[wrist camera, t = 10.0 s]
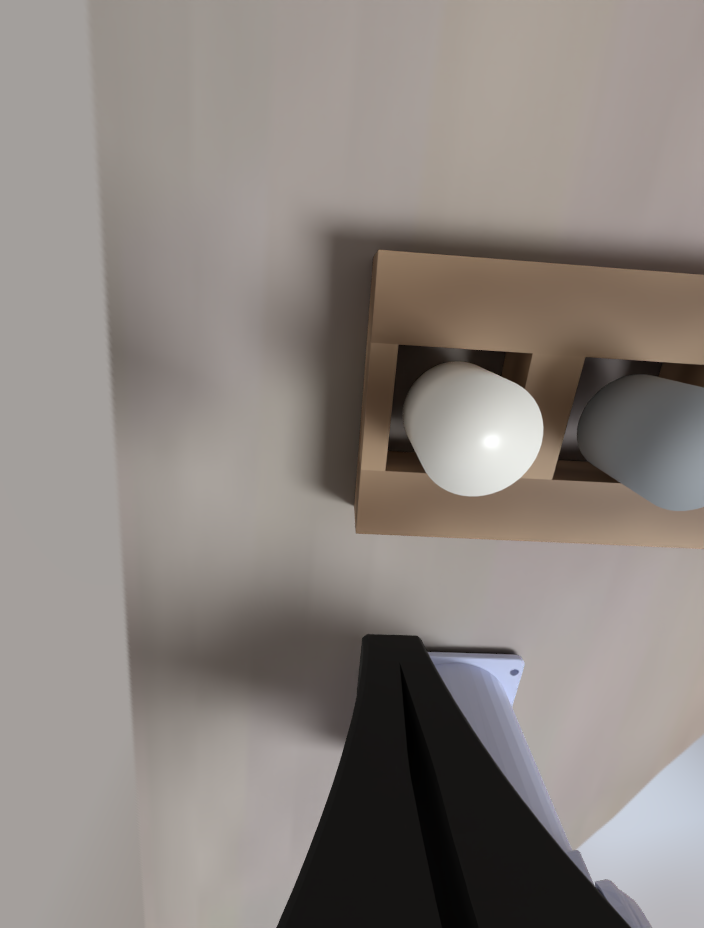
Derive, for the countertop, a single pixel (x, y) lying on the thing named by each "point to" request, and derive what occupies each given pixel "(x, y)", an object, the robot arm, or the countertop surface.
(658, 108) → the countertop surface
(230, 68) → the countertop surface
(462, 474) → the white rounded cylinder
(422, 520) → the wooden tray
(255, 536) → the countertop surface
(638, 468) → the grey rounded piece
